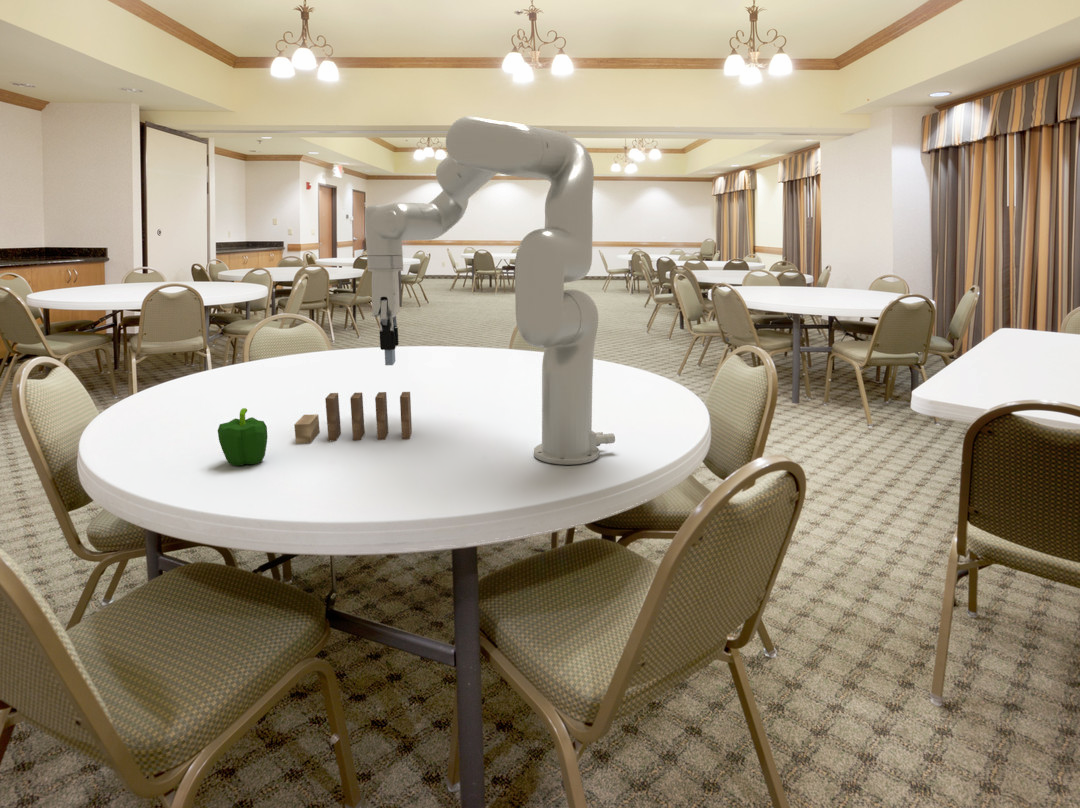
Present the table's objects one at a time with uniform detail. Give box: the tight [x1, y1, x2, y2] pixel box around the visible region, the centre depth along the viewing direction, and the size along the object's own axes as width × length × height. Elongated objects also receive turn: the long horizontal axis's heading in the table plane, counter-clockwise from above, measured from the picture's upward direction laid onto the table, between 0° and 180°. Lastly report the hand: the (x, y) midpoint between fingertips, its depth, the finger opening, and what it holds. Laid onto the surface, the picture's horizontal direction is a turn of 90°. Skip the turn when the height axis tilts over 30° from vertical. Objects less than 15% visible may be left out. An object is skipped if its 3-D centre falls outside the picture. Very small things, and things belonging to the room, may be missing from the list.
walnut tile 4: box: [324, 392, 342, 442], centre depth 148 cm, size 2×5×9 cm, turn 4°
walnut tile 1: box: [399, 391, 413, 440], centre depth 149 cm, size 2×5×9 cm, turn 4°
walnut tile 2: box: [374, 391, 389, 441], centre depth 149 cm, size 2×5×9 cm, turn 4°
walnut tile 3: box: [349, 392, 366, 441], centre depth 148 cm, size 2×5×9 cm, turn 5°
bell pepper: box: [217, 407, 268, 467], centre depth 131 cm, size 8×8×10 cm
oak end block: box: [294, 413, 321, 444], centre depth 148 cm, size 3×8×4 cm, turn 4°
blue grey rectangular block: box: [384, 323, 396, 366], centre depth 157 cm, size 2×5×9 cm, turn 4°
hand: (389, 346), depth 157 cm, fingers closed on blue grey rectangular block, 4 cm apart
